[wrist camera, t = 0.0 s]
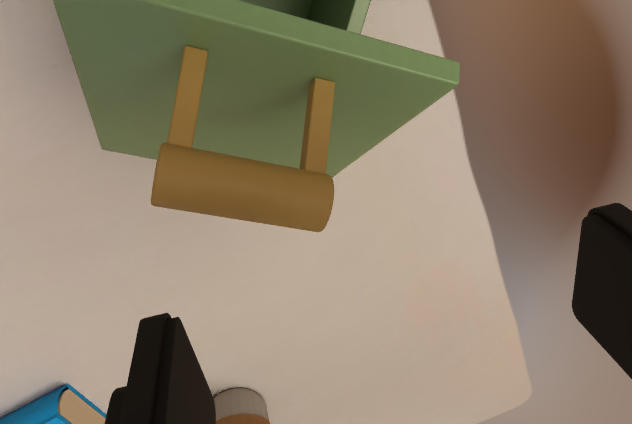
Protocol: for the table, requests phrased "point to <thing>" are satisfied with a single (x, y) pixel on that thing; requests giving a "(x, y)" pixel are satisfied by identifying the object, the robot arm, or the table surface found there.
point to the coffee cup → (240, 407)
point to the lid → (243, 100)
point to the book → (58, 410)
